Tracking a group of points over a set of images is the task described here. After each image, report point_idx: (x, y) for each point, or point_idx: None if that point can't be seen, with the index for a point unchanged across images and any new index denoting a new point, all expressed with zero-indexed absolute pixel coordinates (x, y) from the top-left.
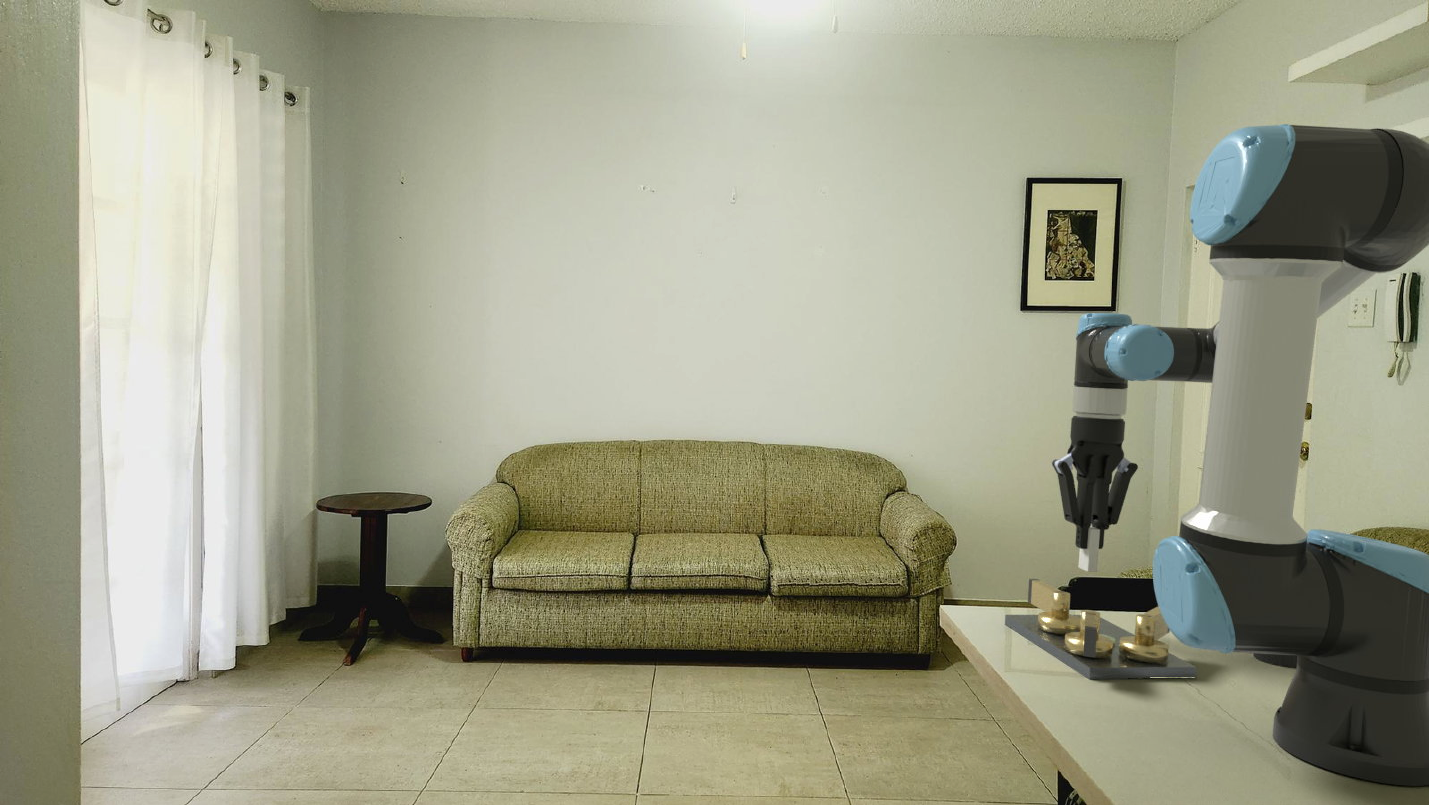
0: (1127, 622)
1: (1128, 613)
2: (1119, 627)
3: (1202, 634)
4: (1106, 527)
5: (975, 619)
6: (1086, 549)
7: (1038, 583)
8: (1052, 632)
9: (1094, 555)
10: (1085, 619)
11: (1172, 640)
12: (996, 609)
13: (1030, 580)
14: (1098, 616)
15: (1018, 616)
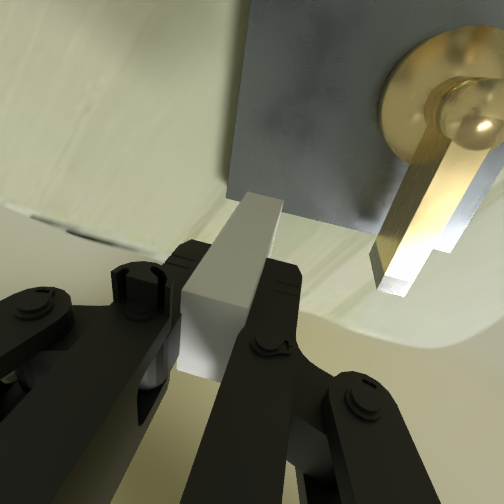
0: (151, 186)
1: (115, 232)
2: (240, 91)
3: None
4: (140, 271)
5: (473, 285)
6: (266, 259)
7: (430, 249)
8: None
9: (247, 221)
10: None
11: (127, 39)
12: (360, 318)
13: (407, 288)
14: None
15: None
